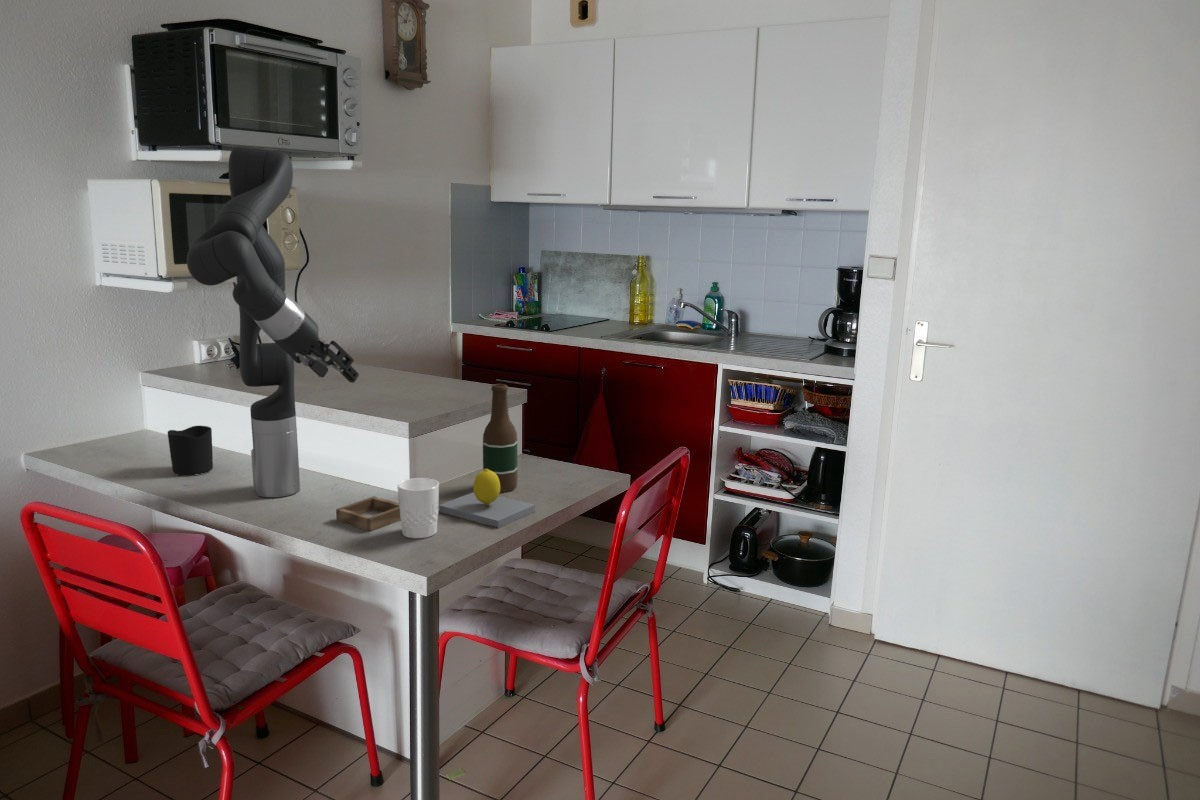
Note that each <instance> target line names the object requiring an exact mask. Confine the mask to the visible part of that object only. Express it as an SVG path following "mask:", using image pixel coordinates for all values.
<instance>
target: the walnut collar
mask: <svg viewBox="0 0 1200 800" xmlns="http://www.w3.org/2000/svg"><path fill="white" fill-rule="evenodd" d="M376 510H377V512H380V511H381V512H380V513H378V514H375V515H372V516H369V515H366V513H369V512H371V511H376ZM335 514H336V518H335V519H336V522H338V521H339V523H341V524H345V525H348V524H349V526H352V527H355V528H358V529H362V530H365V531H369V532H374V531H376V530H378V529H381V528H384V527H386V526H389V525H391V523H392V524H394V523H396V522H399V521H401V519H400V508H399V502H396V501H393V500H388V499H384V498H383V497H382V498H381V497H377V496H374V495H373V496H371V497H368V498H364V499H361V500H358V501H356V502H353V503H350V504H348V505H345V506H342V507H341V506H340V507H339V508H336V509H335Z"/></svg>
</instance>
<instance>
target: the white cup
mask: <svg viewBox="0 0 1200 800" xmlns="http://www.w3.org/2000/svg"><path fill="white" fill-rule="evenodd" d="M439 493H440V482H439V481H438V480H437V479H433V478H427V477H413V478H408V479H403V480H402V481H400V482H398V483H397V495H398V503H399V508H400V519H401V520H400V522H401V530H402V535H403V536H405V537H406V538H409V539H426V538H429V537H432V536H435V535H436V534H437V532H438V518H439V505H440V504H439V502H440V500H439V498H440V496H439V495H440V494H439Z"/></svg>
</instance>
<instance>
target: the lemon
mask: <svg viewBox="0 0 1200 800" xmlns="http://www.w3.org/2000/svg"><path fill="white" fill-rule="evenodd" d="M473 482H474V483H473V492H474V494H475V496H476V498H477V499H478V500H479V501H480V502H482V503H484V504H485V505H486V506H488V505H489V504H490V503H492V502H494V501H495V500H496V499H497V498H498V496H500V494H501V493H500V481H499V478H498V476H497V475H496V474H495V473H494V472H493V471H490V470H489V469H485V470H484V471H483V470H482V471H480V472H478V473H477V474H476V476H475V478H474V481H473Z"/></svg>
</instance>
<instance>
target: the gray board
mask: <svg viewBox="0 0 1200 800" xmlns="http://www.w3.org/2000/svg"><path fill="white" fill-rule="evenodd" d="M535 512H536V504H533V503H530V502H524V501H521V500H517V499H512V498H508V497H504V496H500V495H499V496H498V498H497V499H496V500H495V501H494V502H492V503H490V504H489V505H488V506H486V505H485V504H484V503H482V502H480V501H479V500H478V499H477V498H476V496H475V494H474V491H472V492H470V493H468V494H465V495H462V496H460V497H457V498H454V499H452V500H449V501H447V502H444V503H441V504H439V507H438V513H441V514H445V515H448V514H449V516H452V515H453V516H452V517H457V518H459V517H460V518H461V519H463V518H464V520H467V521H472V522H474V521H475V523H478V524H481V525H482V524H483V525H485V524H486V525H485V526H489V525H490V526H489V527H493V526H494V527H493V528H496V527H497V528H496V529H499V527H500V528H502V527H503V526H506V525H509V524H511V523H513V522H515V521H517V520H520V519H522V518H524V517H526V516H528V515H530V514H533V513H535ZM460 518H459V519H460Z"/></svg>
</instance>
